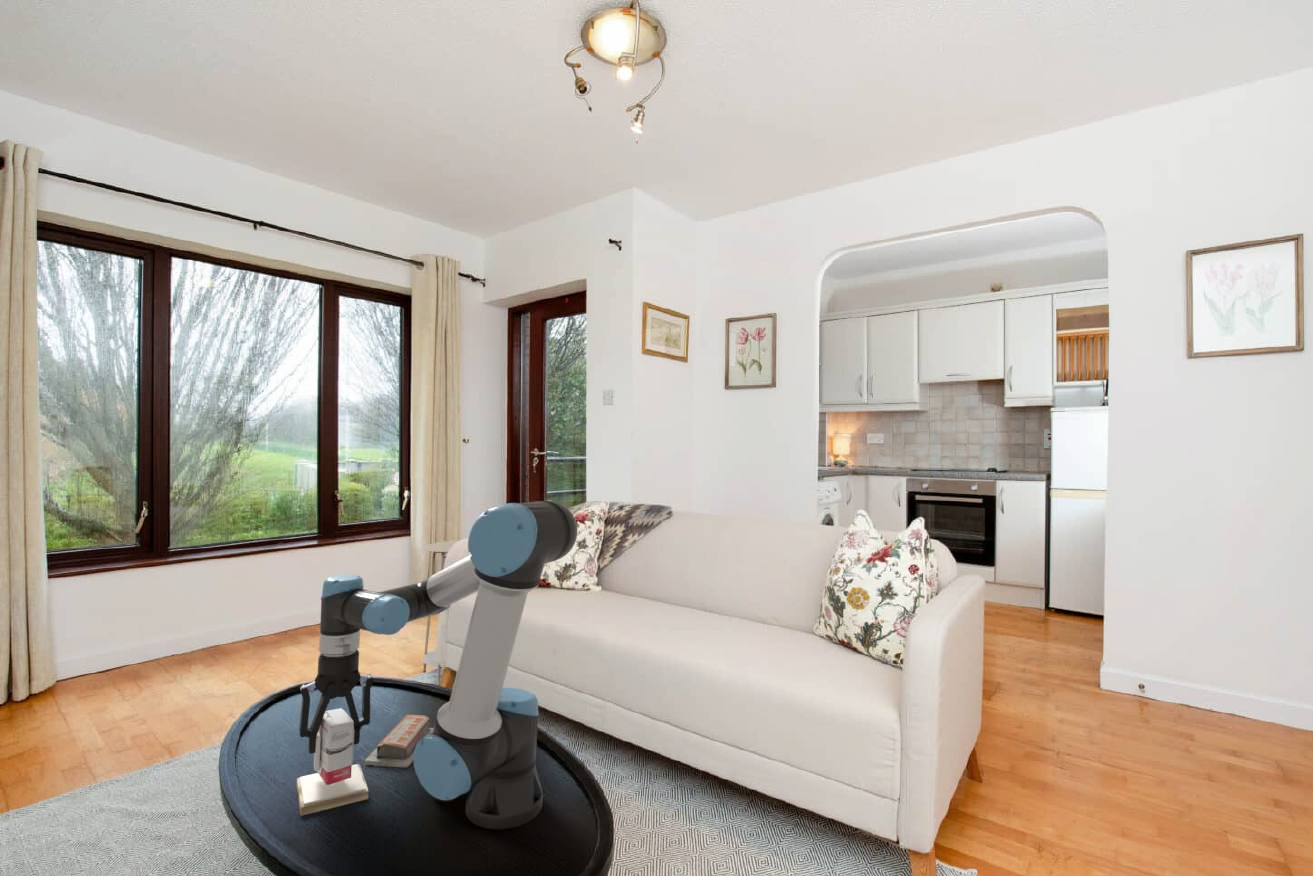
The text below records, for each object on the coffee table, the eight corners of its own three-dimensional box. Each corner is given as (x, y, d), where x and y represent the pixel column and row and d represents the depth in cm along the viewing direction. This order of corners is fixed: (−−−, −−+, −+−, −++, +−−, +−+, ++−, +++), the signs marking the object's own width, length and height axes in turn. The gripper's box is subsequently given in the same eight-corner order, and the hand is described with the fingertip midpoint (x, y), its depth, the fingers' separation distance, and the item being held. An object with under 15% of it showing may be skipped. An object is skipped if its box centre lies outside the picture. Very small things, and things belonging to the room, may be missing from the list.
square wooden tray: (368, 798, 127) (368, 789, 127) (300, 816, 120) (301, 805, 120) (359, 771, 137) (359, 762, 137) (296, 786, 130) (297, 776, 130)
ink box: (352, 778, 127) (355, 720, 127) (325, 786, 124) (329, 727, 124) (339, 761, 133) (342, 706, 133) (313, 768, 130) (316, 712, 130)
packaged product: (398, 711, 157) (438, 713, 157) (397, 730, 157) (436, 732, 157) (364, 746, 139) (409, 748, 139) (363, 767, 139) (407, 770, 139)
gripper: (288, 664, 120) (281, 784, 120) (390, 650, 131) (384, 761, 130) (286, 652, 127) (280, 766, 127) (384, 640, 137) (378, 745, 137)
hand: (333, 763), depth 128 cm, fingers closed on ink box, 5 cm apart
